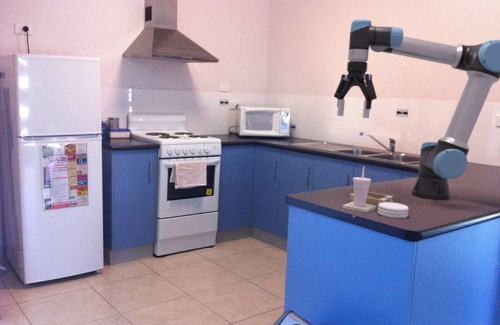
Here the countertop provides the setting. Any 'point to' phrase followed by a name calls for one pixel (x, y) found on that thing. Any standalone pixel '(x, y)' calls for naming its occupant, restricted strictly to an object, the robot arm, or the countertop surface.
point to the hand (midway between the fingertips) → (352, 117)
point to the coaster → (393, 210)
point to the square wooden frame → (375, 198)
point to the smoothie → (361, 189)
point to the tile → (366, 208)
